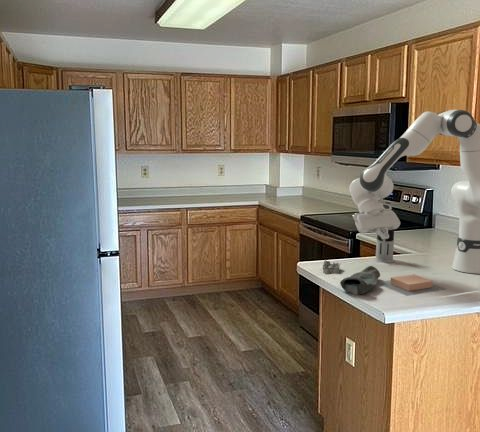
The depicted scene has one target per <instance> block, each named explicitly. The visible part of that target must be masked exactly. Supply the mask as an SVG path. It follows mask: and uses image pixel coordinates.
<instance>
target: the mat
mask: <svg viewBox="0 0 480 432" xmlns="http://www.w3.org/2000/svg"><path fill="white" fill-rule="evenodd" d="M390 282H391V279H390V280H389V279H388V280H382V281H378V282H377V284H378V285H380V286H382V287H384V288H387V289H389V290H392V291H394V292H397V293H400V294H401V295H404V296H407V297H408V296H413V295H421V294H426V293H427V294H429V293H432V292H439V291H446V290H448V288H445V287H443V286H441V285H437V284H435V283H433V287H431V288H425V289H418V290H412V291H407V290H405V289H402V288H400V287H397V286H395V285H392V284H390ZM377 284H376V285H377Z"/></svg>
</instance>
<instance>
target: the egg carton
mask: <svg viewBox="0 0 480 432" xmlns="http://www.w3.org/2000/svg"><path fill="white" fill-rule="evenodd" d="M340 266H341V262H336V263H335V262H332V263H331V261H330V260H327V259H324V261H323V264H322V269H323V270H322V272H323V273H324V274H327V275H328V274H332V275H334V274H339V272H340V268H341V267H340Z"/></svg>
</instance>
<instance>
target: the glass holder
mask: <svg viewBox="0 0 480 432" xmlns="http://www.w3.org/2000/svg"><path fill="white" fill-rule="evenodd" d="M381 232H382V233H383V234H384V232H383V231H381ZM388 234H389V238H388V239H382V238H381V237H380V236H379V235H378V234H376V236H377V237H376V247H375V258H374V261H375V262H379V263H386V264H387V263H393V262H394V261H395V260H394V245H395V244H394V243H395V238H394V237H395V229H391V230H388Z"/></svg>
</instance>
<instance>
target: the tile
mask: <svg viewBox="0 0 480 432" xmlns="http://www.w3.org/2000/svg"><path fill="white" fill-rule="evenodd" d="M390 280H391V282H390V284H392V285H395V286H397V287H400V288H402V289H405V290H407V291H412V290H418V289H425V288H431V287H433V284H434V281H433V280H432V279H429V278H426V277H424V276H420V275H418V274H406V275H400V276H392V277H390Z"/></svg>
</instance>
